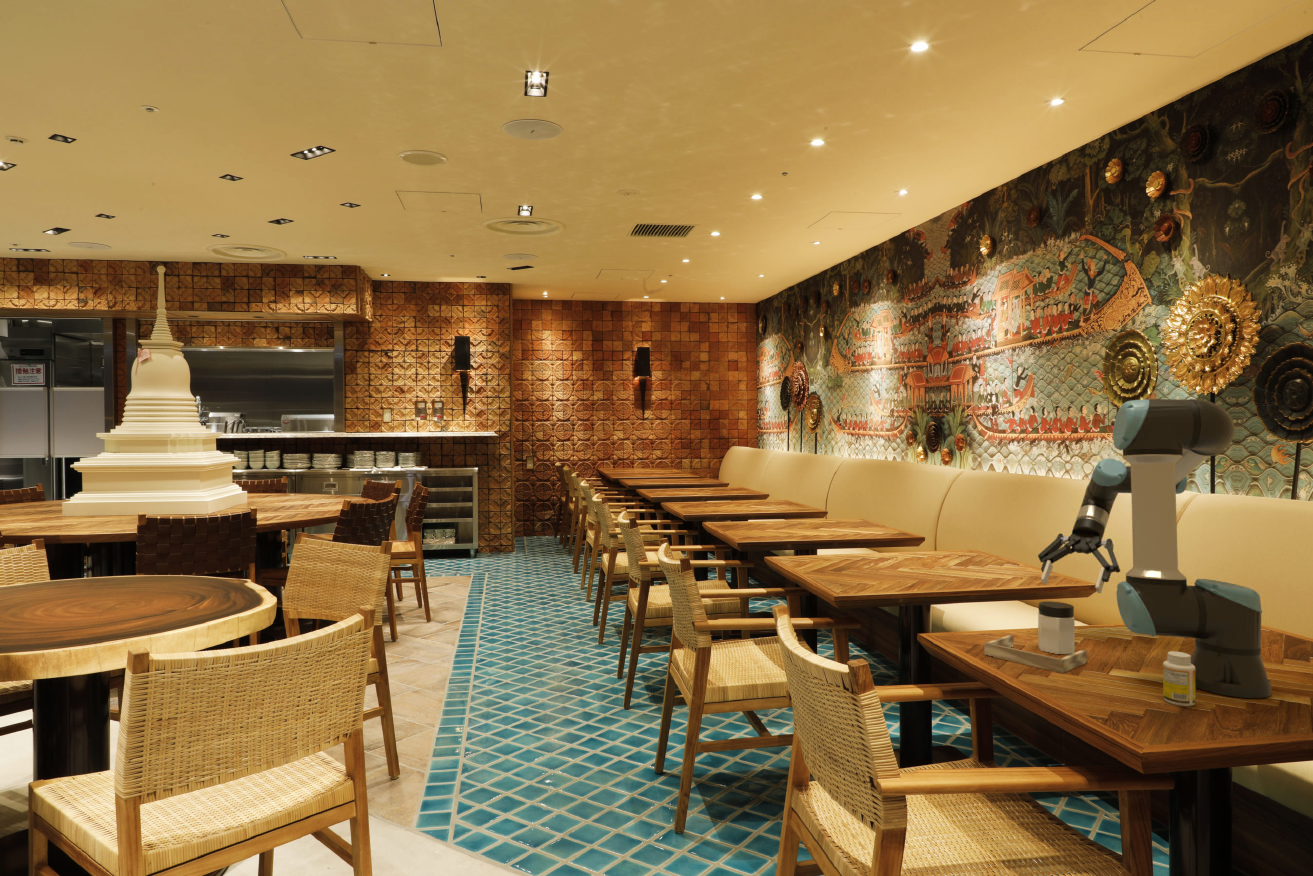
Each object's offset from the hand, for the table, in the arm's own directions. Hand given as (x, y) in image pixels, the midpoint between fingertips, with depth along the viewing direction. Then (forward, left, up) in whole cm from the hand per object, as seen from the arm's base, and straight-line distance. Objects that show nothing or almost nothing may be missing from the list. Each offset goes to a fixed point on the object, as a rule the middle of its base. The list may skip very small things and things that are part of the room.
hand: (1070, 586), depth 201 cm
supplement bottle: (-44, +9, -16) cm, 48 cm away
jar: (-5, +8, -16) cm, 19 cm away
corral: (-11, +19, -16) cm, 27 cm away
